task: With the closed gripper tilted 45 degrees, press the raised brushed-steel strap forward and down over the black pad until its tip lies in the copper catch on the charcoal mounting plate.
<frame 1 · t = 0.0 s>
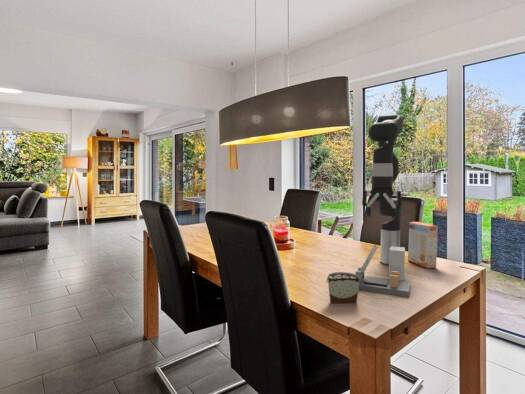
hand: (381, 217, 130), 29 cm above the table, tool pointing down, fingers open, 8 cm apart
mounting plate: (374, 286, 137), on the table
food container: (341, 301, 122), on the table
strap: (367, 262, 138), point 10 cm above the table, hinge at 25.0°
cracker box: (421, 265, 170), on the table
small box: (396, 277, 150), on the table
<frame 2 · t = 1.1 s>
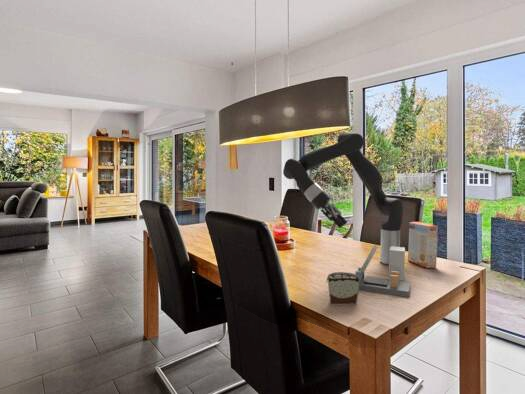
hand: (343, 225, 141), 25 cm above the table, tool tilted 45°, fingers open, 6 cm apart
nothing on the table moved.
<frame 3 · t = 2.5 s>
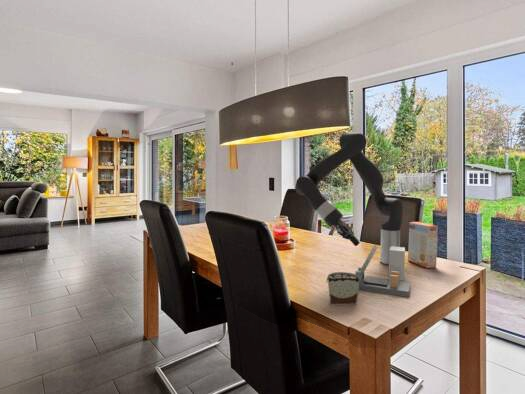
hand: (358, 244, 139), 17 cm above the table, tool tilted 45°, fingers closed
nothing on the table moved.
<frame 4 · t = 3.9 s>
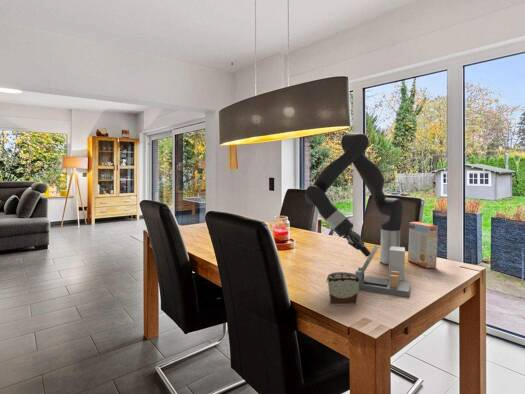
hand: (368, 255, 137), 13 cm above the table, tool tilted 45°, fingers closed
strap: (367, 262, 138), point 10 cm above the table, hinge at 26.4°, touching gripper
everything else where it was.
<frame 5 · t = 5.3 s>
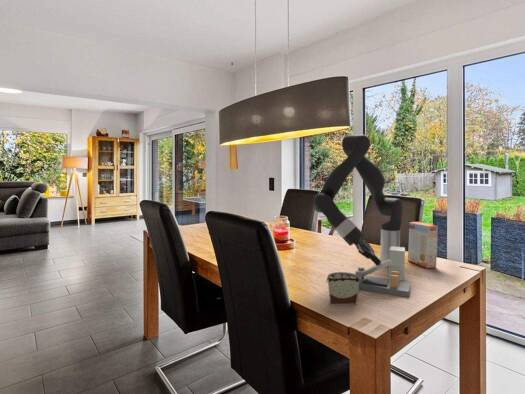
hand: (379, 263, 136), 10 cm above the table, tool tilted 45°, fingers closed
strap: (374, 268, 137), point 7 cm above the table, hinge at 58.4°, touching gripper
everything else where it was.
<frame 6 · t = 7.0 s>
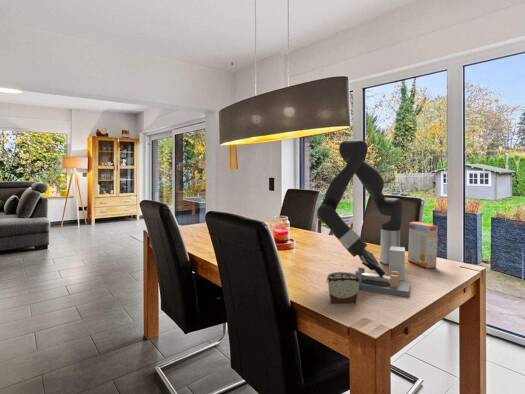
hand: (383, 275, 136), 5 cm above the table, tool tilted 45°, fingers closed
strap: (376, 277, 137), point 4 cm above the table, hinge at 90.9°, touching gripper, mounting plate
everything else where it was.
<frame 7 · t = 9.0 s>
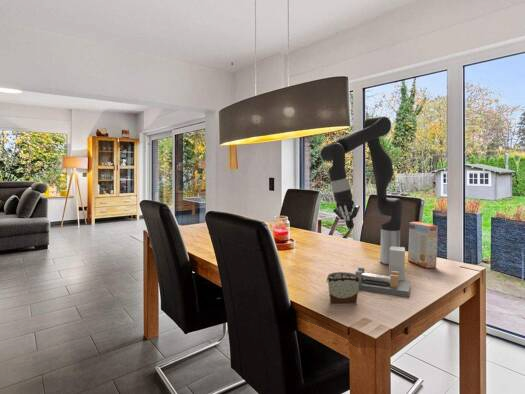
hand: (350, 228, 146), 22 cm above the table, tool pointing down, fingers closed
strap: (376, 277, 137), point 4 cm above the table, hinge at 90.9°, touching mounting plate
everything else where it was.
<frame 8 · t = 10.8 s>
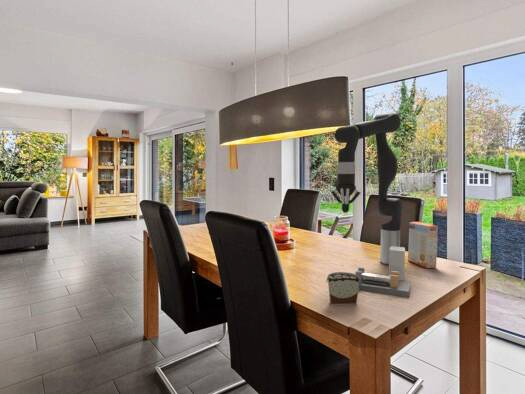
hand: (345, 212, 147), 29 cm above the table, tool pointing down, fingers closed
nothing on the table moved.
at the end: strap at +91° (first picture: +25°); food container moved 0.2 cm from its start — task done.
